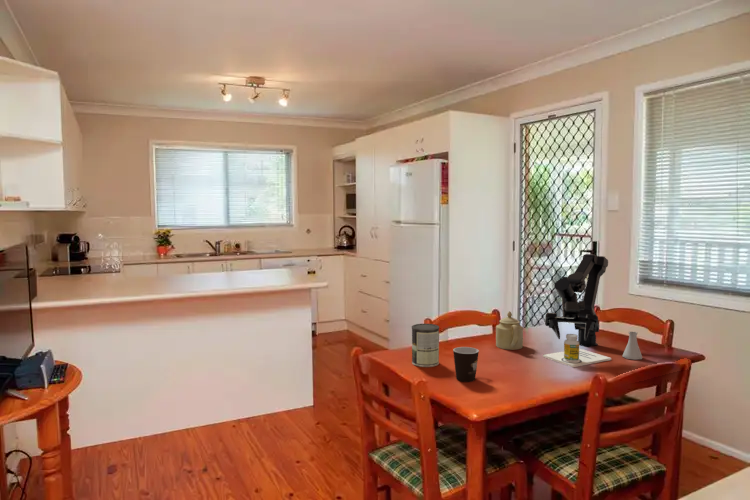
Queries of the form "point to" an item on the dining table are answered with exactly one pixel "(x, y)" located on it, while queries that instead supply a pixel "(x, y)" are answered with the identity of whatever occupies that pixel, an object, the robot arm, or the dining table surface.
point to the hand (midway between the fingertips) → (572, 339)
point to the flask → (632, 348)
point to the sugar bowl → (509, 333)
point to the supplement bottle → (571, 348)
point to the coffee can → (425, 345)
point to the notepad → (584, 358)
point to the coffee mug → (465, 363)
